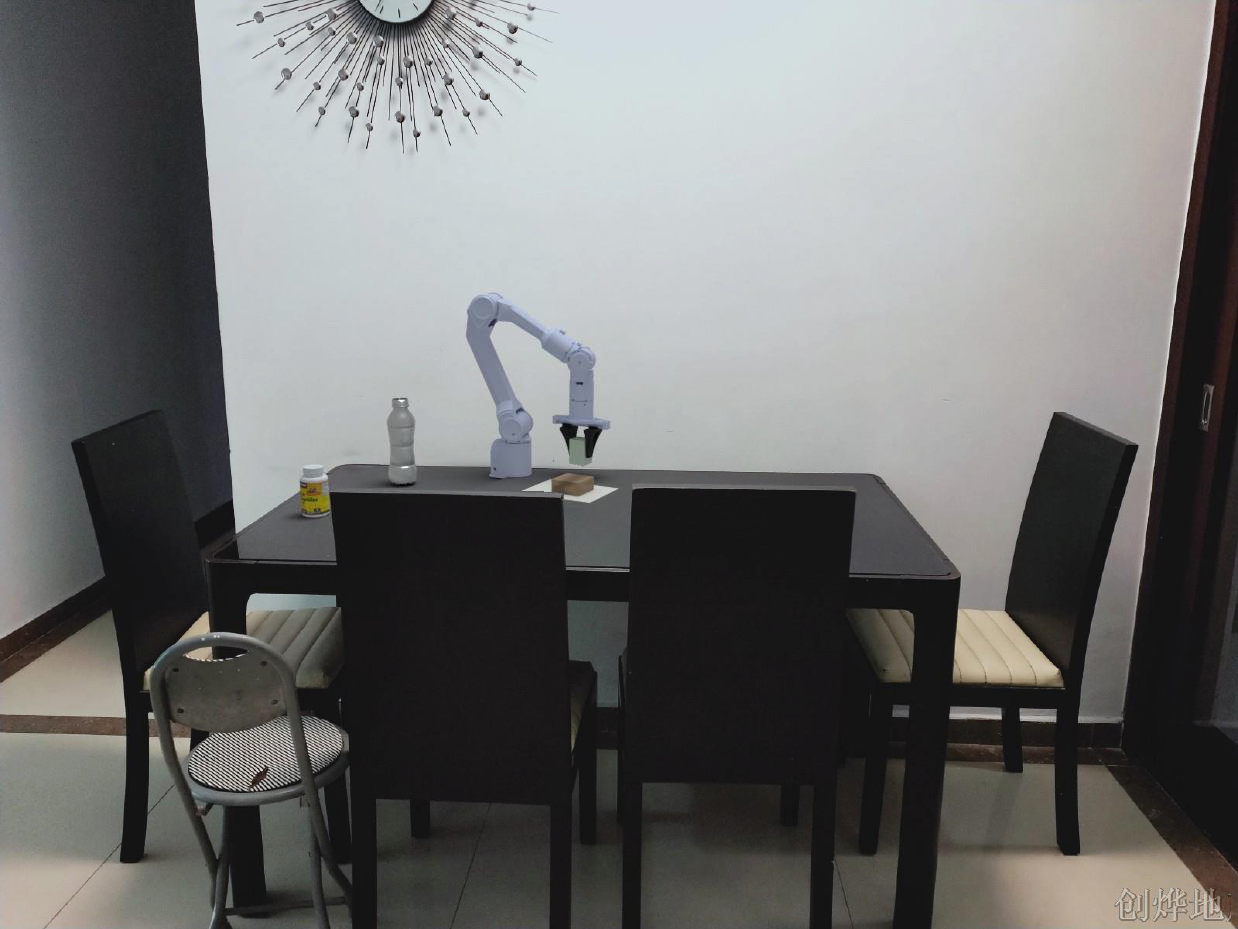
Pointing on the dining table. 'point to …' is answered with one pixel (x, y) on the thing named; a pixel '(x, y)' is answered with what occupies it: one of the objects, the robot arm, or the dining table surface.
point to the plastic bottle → (401, 443)
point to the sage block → (578, 452)
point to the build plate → (587, 497)
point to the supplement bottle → (314, 492)
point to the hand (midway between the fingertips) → (580, 456)
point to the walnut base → (572, 484)
